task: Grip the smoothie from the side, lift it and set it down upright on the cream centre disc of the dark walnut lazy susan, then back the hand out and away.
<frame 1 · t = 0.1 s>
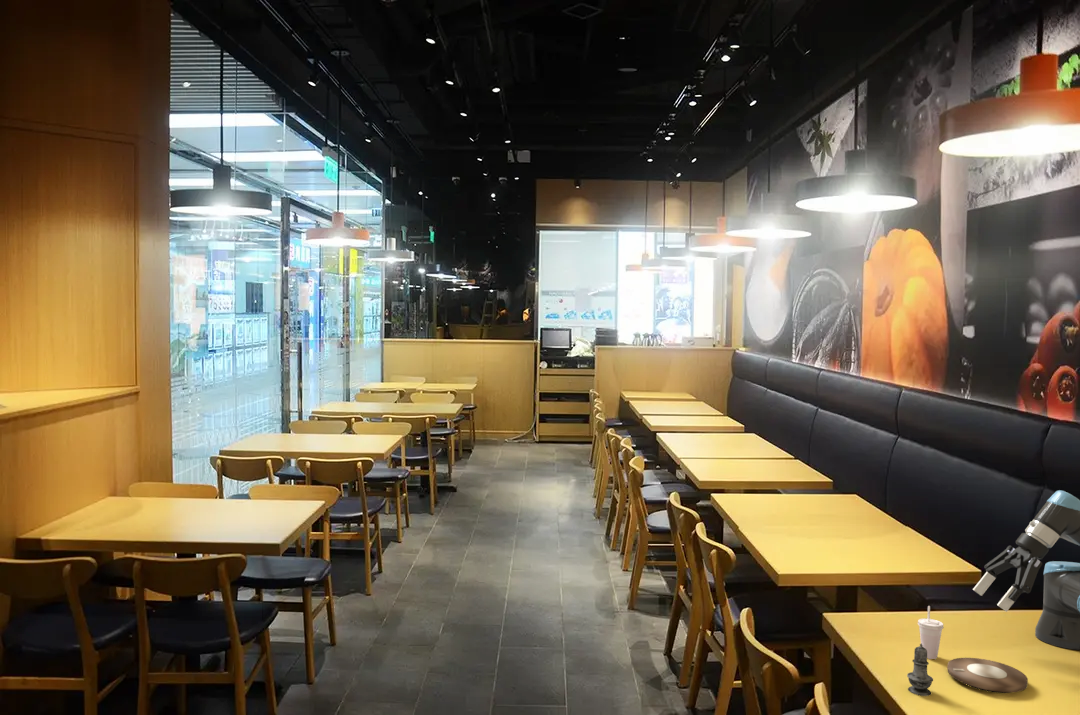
hand: (988, 600, 224), 15 cm above the table, tool tilted 35°, fingers open, 13 cm apart
smoothie: (929, 657, 222), on the table
salt shaker: (919, 692, 200), on the table
turntable base: (986, 681, 206), on the table
turntable: (986, 673, 206), point 2 cm above the table, hinge at 0.0°
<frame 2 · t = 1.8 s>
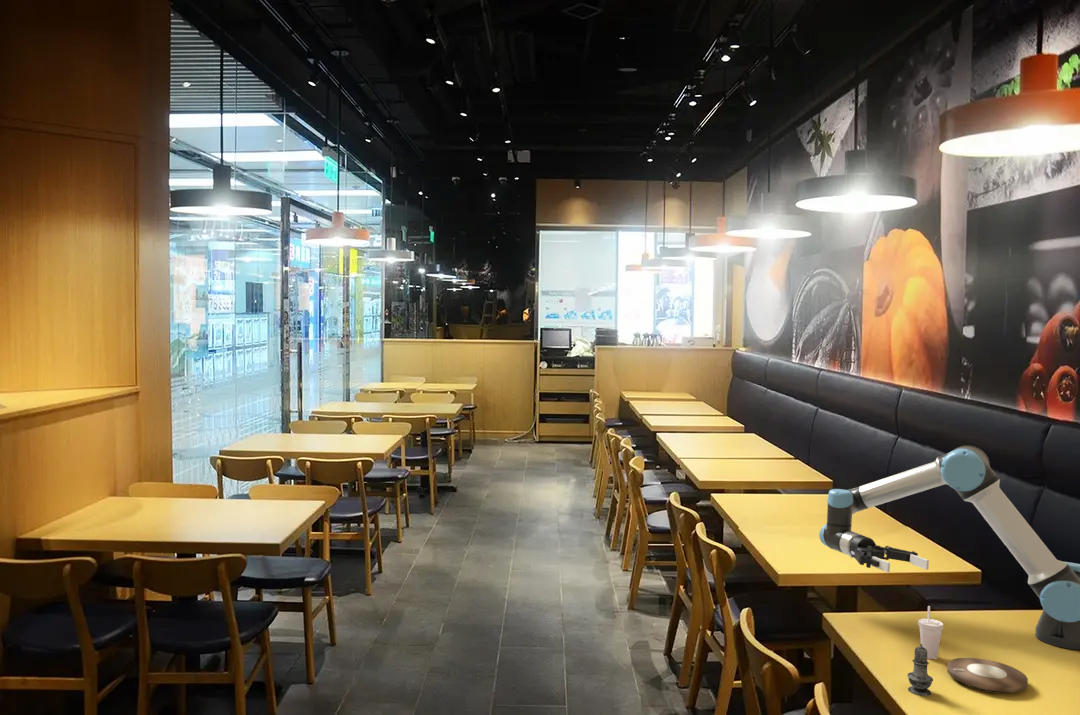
hand: (908, 566, 230), 23 cm above the table, tool horizontal, fingers open, 13 cm apart
nothing on the table moved.
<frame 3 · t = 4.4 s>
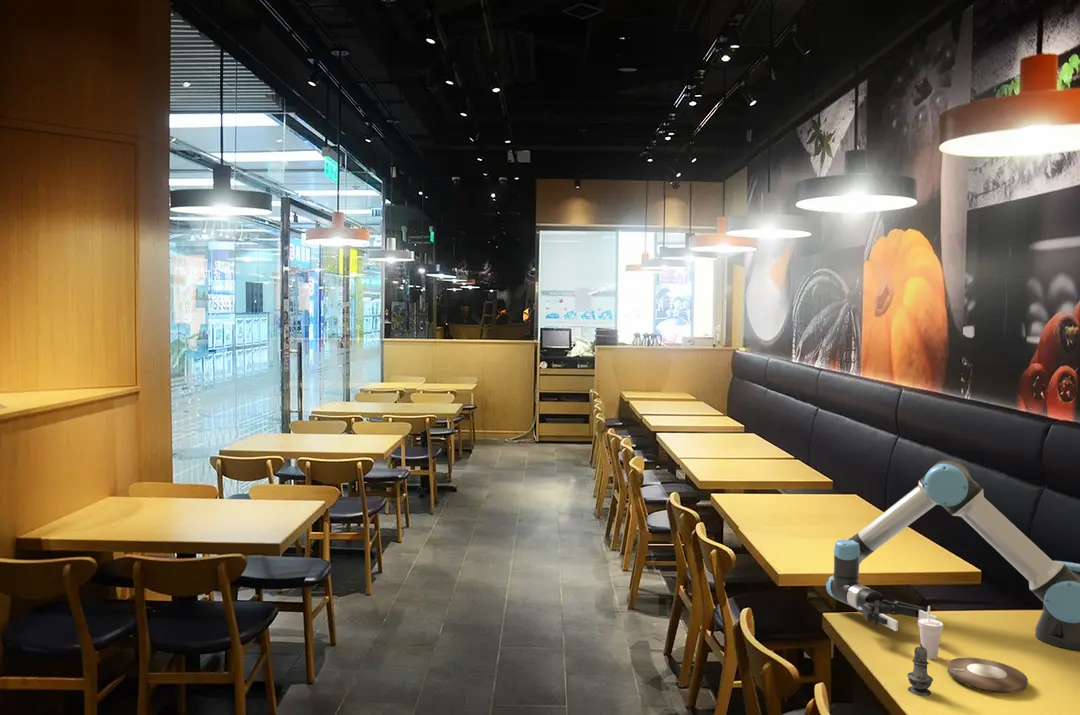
hand: (916, 624, 226), 8 cm above the table, tool horizontal, fingers open, 13 cm apart
nothing on the table moved.
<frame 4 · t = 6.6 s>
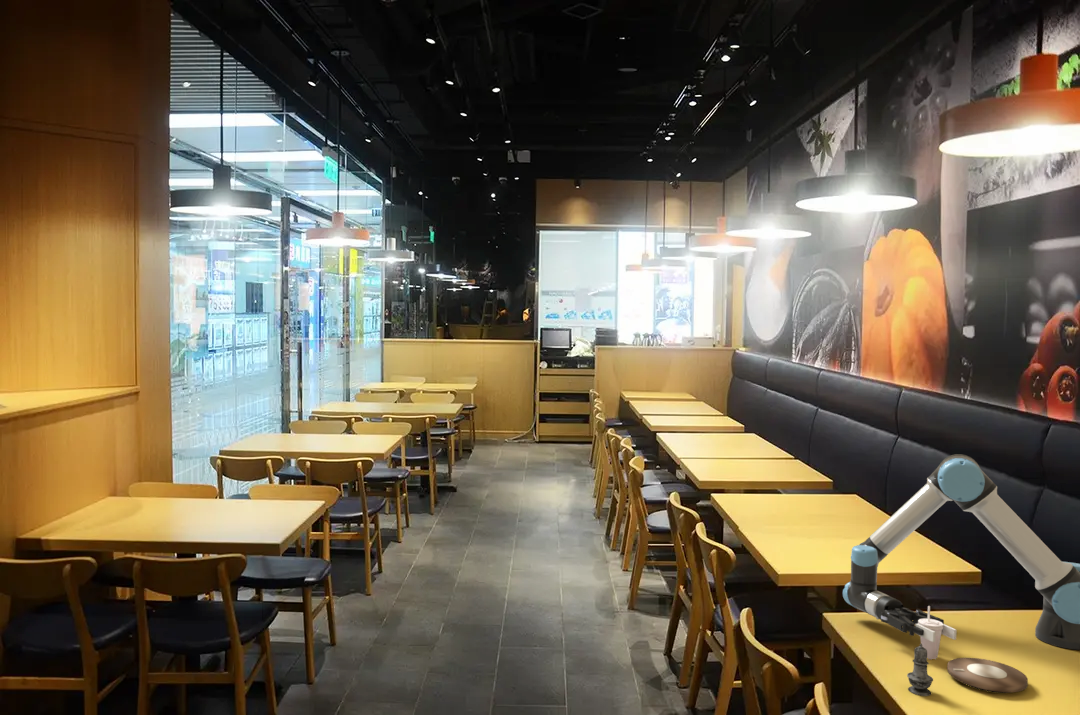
hand: (944, 635, 217), 8 cm above the table, tool horizontal, fingers closed on smoothie, 6 cm apart
smoothie: (929, 657, 222), on the table, touching gripper
everything else where it was.
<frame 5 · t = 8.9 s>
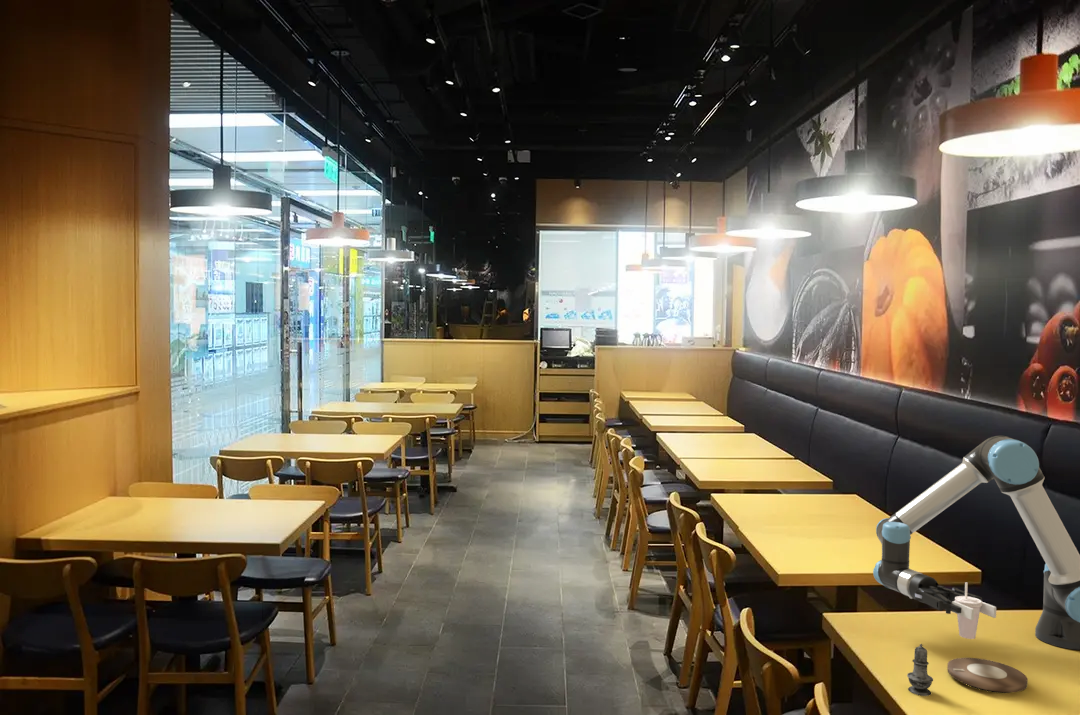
hand: (983, 613, 205), 18 cm above the table, tool horizontal, fingers closed on smoothie, 6 cm apart
smoothie: (967, 636, 210), point 10 cm above the table, touching gripper
everything else where it was.
when the fingers open (12 cm above the table, at t = 11.4 s): smoothie drops 1 cm, resting on turntable.
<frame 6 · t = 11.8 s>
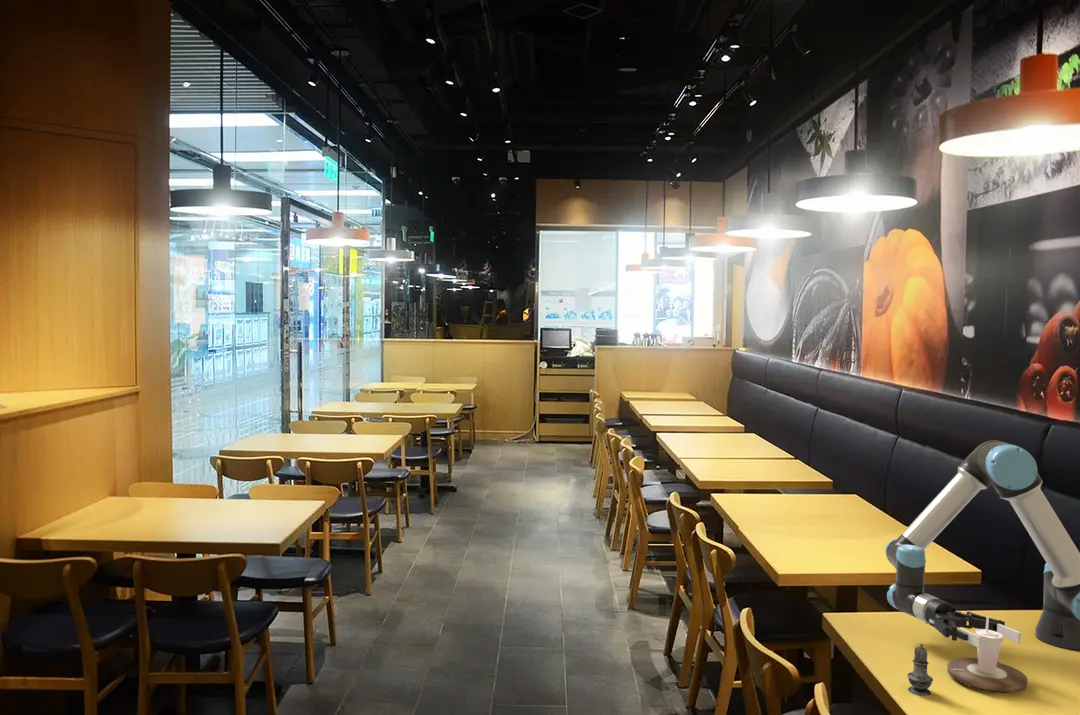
hand: (1000, 640, 203), 12 cm above the table, tool horizontal, fingers open, 12 cm apart
smoothie: (986, 671, 206), point 3 cm above the table, touching turntable
turntable: (986, 673, 206), point 2 cm above the table, hinge at 0.0°, touching smoothie
everything else where it was.
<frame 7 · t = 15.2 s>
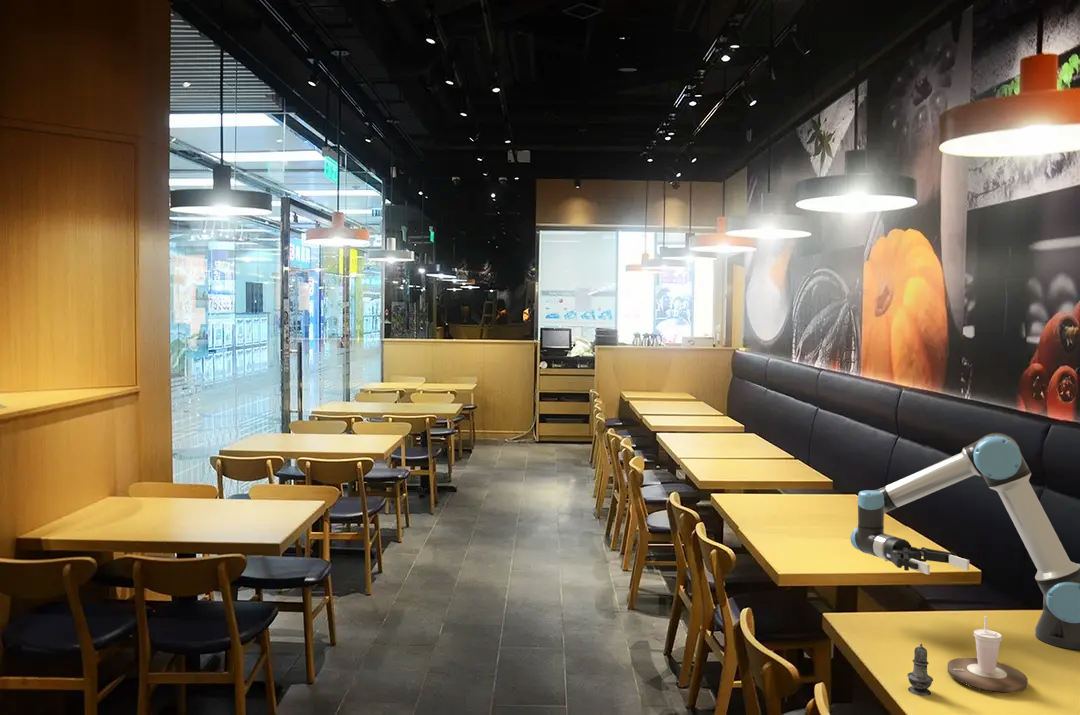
hand: (948, 567, 221), 25 cm above the table, tool horizontal, fingers open, 13 cm apart
nothing on the table moved.
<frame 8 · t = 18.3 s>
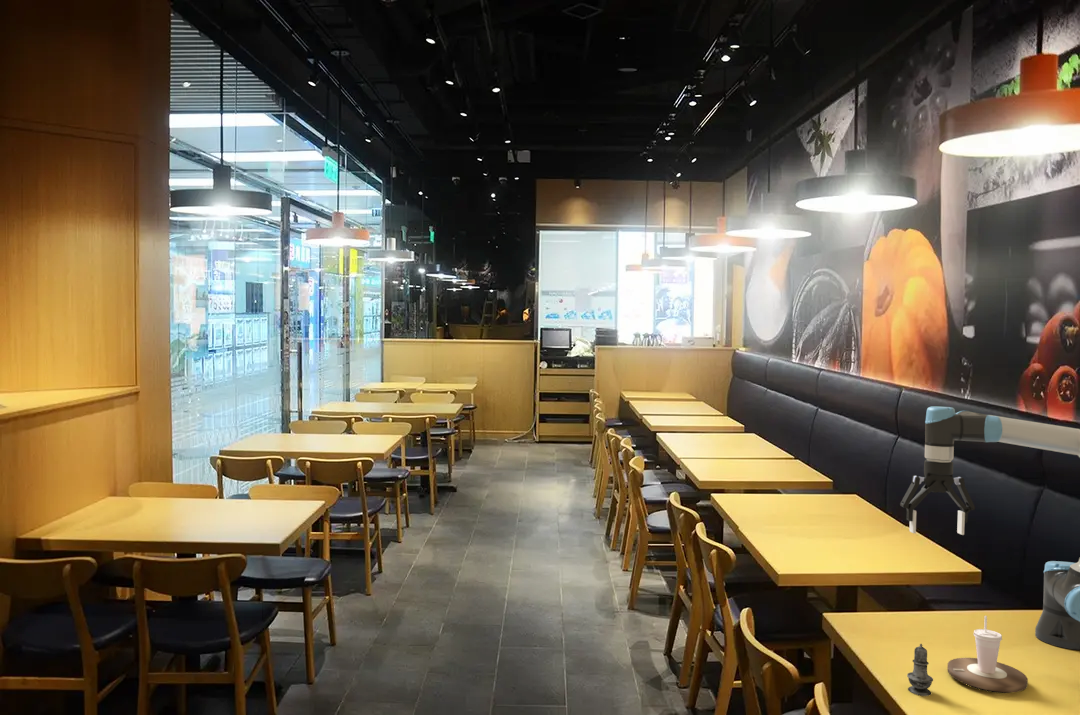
hand: (936, 533, 233), 32 cm above the table, tool pointing down, fingers open, 13 cm apart
nothing on the table moved.
at the end: smoothie 0.0 cm from the turntable (horizontally); smoothie tilted 0°; smoothie touching turntable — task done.
